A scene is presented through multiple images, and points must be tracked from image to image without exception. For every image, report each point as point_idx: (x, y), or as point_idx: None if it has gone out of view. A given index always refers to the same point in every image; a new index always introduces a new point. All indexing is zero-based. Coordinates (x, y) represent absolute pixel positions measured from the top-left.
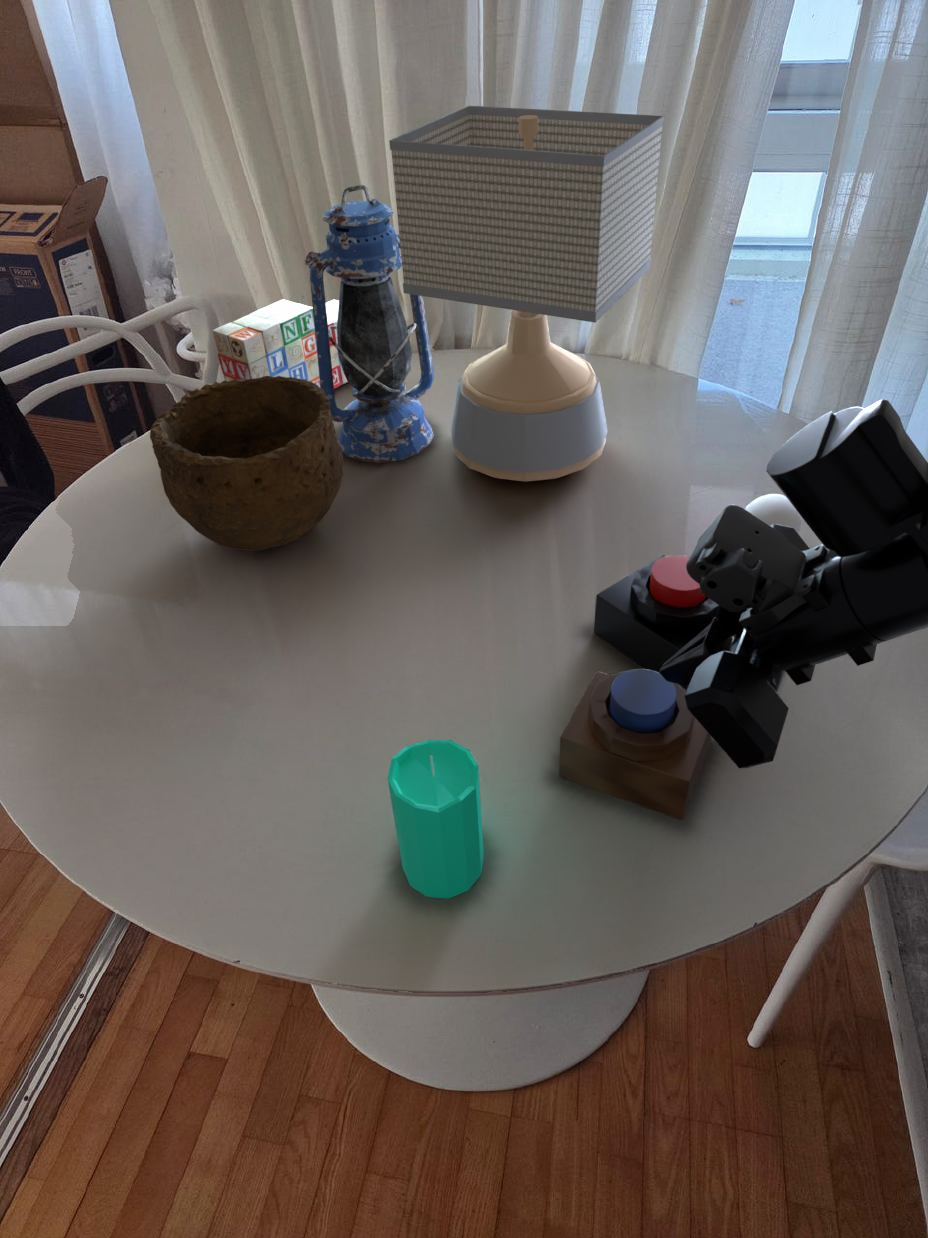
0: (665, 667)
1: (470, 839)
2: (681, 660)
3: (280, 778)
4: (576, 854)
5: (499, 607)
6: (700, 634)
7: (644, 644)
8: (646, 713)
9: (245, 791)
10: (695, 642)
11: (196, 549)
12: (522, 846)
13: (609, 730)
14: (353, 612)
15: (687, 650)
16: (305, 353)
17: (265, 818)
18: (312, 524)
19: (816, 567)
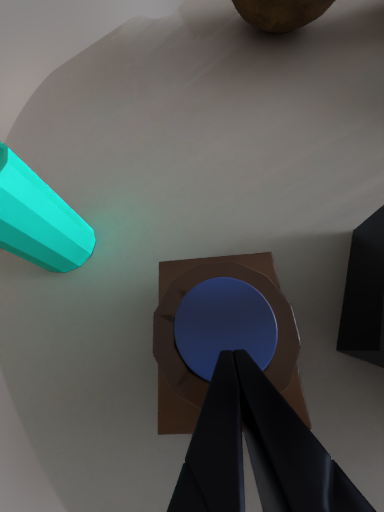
0: (219, 365)
1: (7, 248)
2: (201, 432)
3: (98, 140)
4: (103, 329)
5: (320, 155)
6: (339, 499)
7: (365, 281)
8: (181, 348)
9: (84, 133)
10: (282, 485)
11: (237, 17)
12: (97, 286)
13: (163, 306)
14: (243, 93)
15: (259, 434)
16: None
17: (70, 150)
18: (287, 15)
19: None
